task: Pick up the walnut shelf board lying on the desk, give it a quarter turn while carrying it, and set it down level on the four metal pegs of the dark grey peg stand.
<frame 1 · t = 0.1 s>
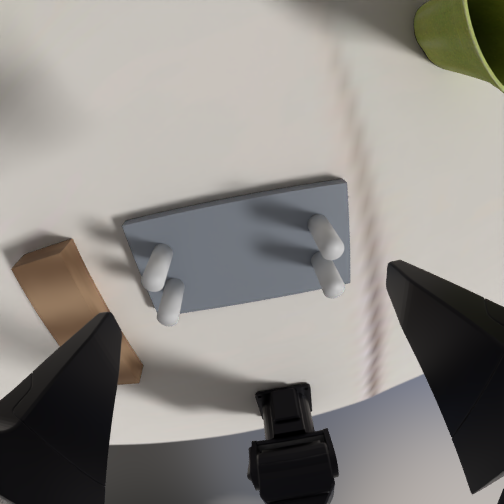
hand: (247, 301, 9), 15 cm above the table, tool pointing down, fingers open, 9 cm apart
peg stand: (242, 250, 25), on the table
shelf board: (85, 312, 28), on the table
plant pot: (440, 35, 17), on the table
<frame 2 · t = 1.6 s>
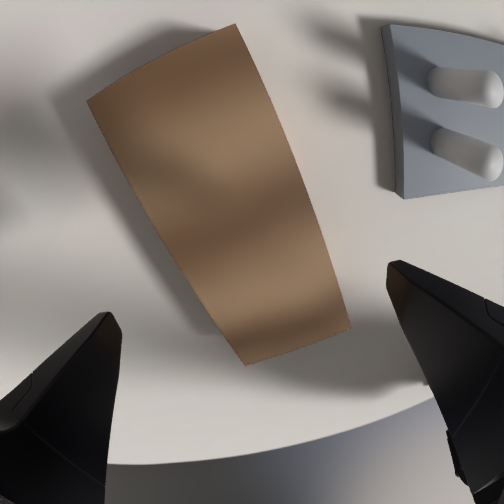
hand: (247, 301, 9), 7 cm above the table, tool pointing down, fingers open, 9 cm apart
peg stand: (500, 113, 13), on the table
shelf board: (238, 206, 16), on the table
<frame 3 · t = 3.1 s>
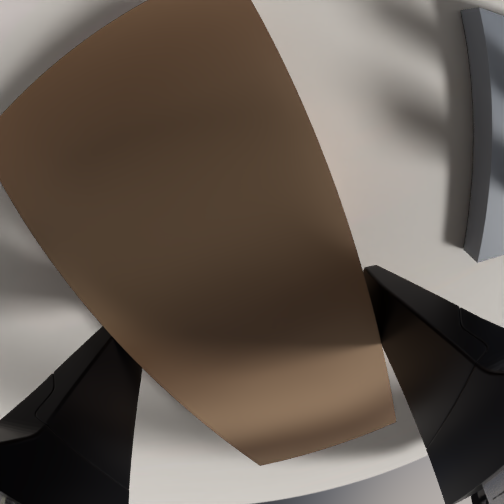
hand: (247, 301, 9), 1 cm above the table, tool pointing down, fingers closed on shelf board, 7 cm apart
shelf board: (246, 280, 11), on the table, touching gripper
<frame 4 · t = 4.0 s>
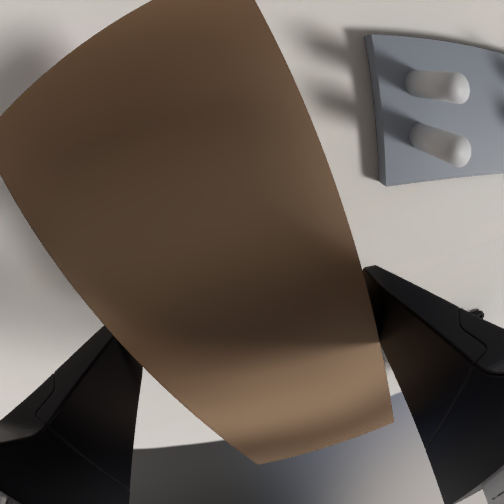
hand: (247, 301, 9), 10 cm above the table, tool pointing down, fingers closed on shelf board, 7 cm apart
peg stand: (477, 109, 16), on the table
shelf board: (246, 279, 11), point 9 cm above the table, touching gripper
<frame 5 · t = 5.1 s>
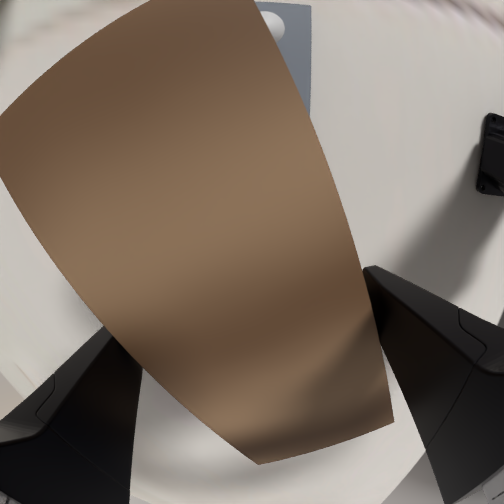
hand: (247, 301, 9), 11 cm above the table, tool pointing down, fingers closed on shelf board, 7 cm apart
peg stand: (228, 143, 18), on the table
shelf board: (245, 279, 11), point 10 cm above the table, touching gripper
when the fingers open (7 cm above the table, at t = 6.6 s): shelf board stays where it is, resting on peg stand.
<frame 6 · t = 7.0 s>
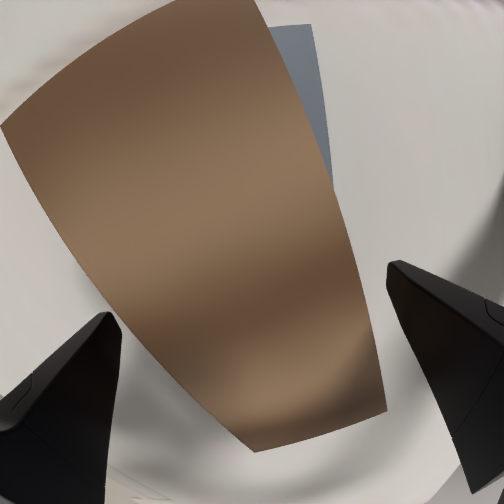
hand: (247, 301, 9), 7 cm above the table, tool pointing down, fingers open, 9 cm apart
peg stand: (240, 213, 16), on the table
shelf board: (245, 267, 11), point 5 cm above the table, touching peg stand
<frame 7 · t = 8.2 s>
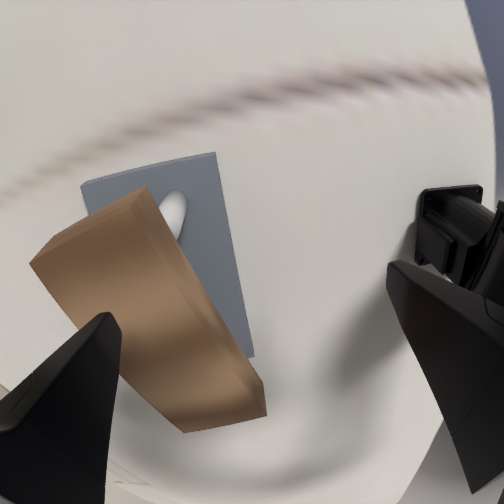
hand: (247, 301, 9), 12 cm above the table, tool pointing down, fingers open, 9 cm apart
peg stand: (177, 277, 23), on the table
shelf board: (167, 323, 18), point 5 cm above the table, touching peg stand
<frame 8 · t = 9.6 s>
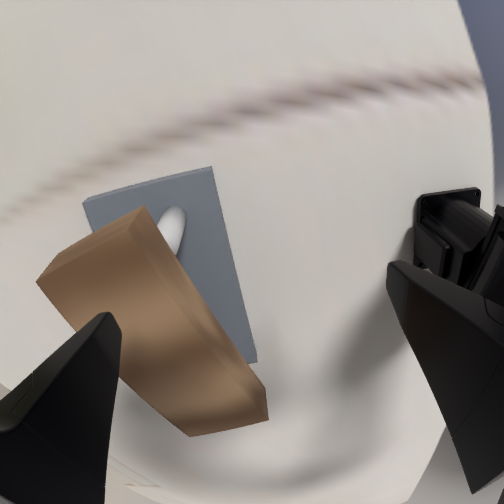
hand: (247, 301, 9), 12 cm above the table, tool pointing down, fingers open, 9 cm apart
peg stand: (179, 287, 24), on the table
shelf board: (170, 333, 19), point 5 cm above the table, touching peg stand
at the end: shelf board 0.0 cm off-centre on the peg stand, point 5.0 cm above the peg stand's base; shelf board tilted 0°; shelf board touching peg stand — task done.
